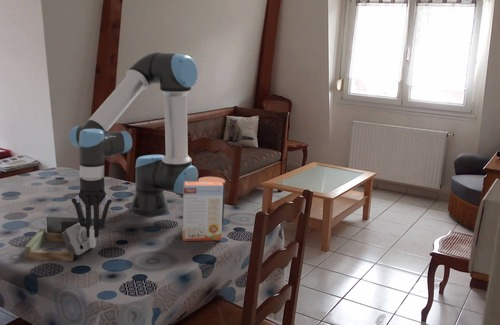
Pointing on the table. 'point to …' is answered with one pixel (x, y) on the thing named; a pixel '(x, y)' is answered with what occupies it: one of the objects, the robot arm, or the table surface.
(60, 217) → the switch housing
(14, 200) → the table surface
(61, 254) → the bay
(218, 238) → the cracker box
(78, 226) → the electrical switch
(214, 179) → the coffee jar
